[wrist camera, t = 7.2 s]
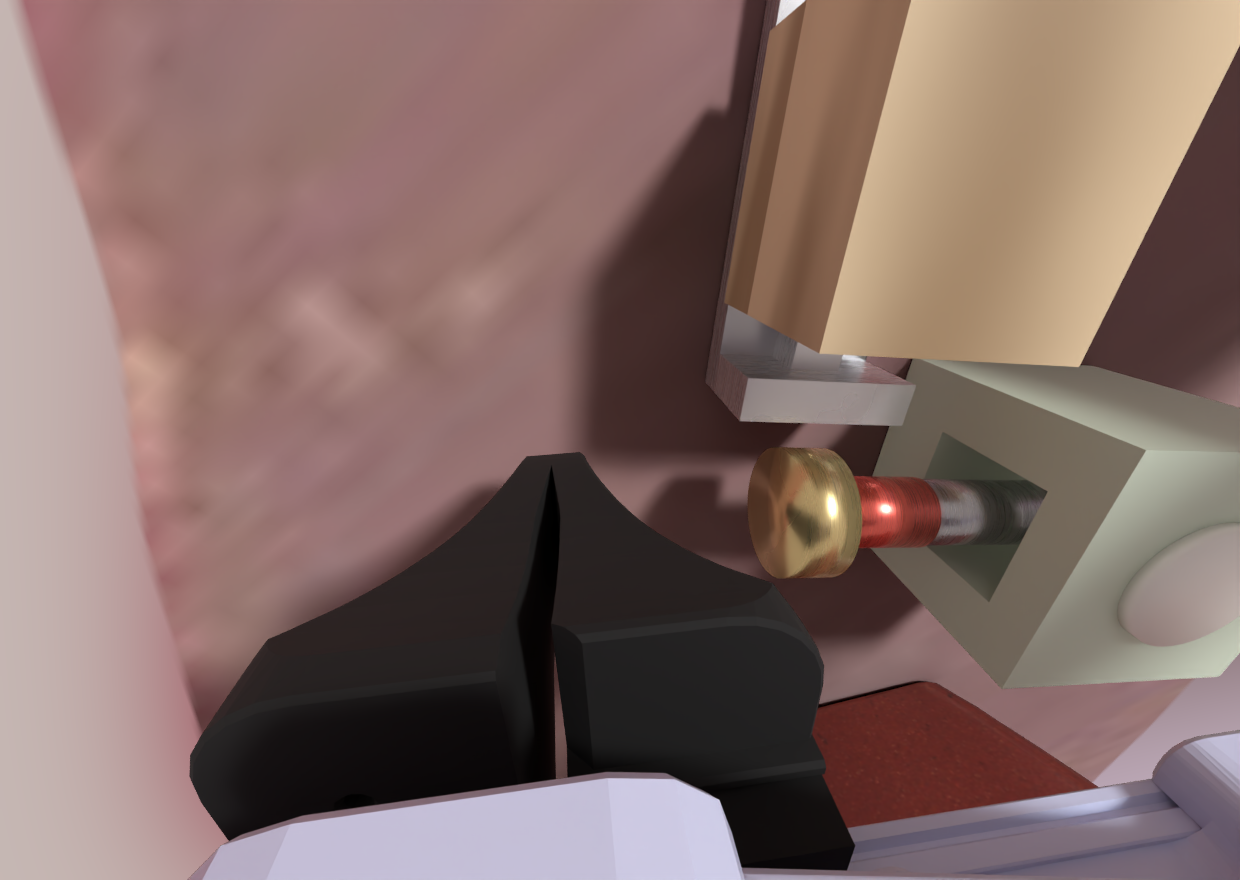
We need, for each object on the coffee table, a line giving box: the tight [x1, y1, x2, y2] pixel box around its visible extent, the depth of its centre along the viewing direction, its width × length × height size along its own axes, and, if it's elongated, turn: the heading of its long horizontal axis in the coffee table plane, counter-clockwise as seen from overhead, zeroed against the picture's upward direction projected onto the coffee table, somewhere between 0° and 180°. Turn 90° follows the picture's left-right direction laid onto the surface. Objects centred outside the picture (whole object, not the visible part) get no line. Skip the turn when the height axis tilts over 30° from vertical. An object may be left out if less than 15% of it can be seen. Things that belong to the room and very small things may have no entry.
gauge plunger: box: [748, 447, 1048, 578], centre depth 12 cm, size 7×3×3 cm, turn 85°
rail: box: [705, 0, 916, 426], centre depth 9 cm, size 4×16×3 cm, turn 175°
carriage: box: [724, 0, 1240, 367], centre depth 8 cm, size 4×5×4 cm
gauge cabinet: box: [871, 358, 1240, 689], centre depth 12 cm, size 6×6×6 cm
